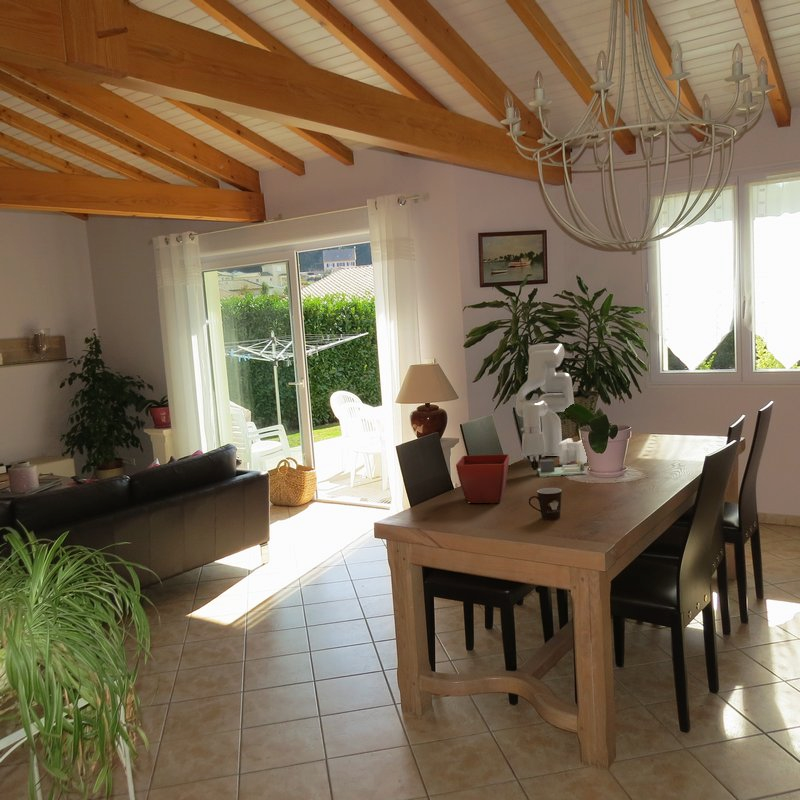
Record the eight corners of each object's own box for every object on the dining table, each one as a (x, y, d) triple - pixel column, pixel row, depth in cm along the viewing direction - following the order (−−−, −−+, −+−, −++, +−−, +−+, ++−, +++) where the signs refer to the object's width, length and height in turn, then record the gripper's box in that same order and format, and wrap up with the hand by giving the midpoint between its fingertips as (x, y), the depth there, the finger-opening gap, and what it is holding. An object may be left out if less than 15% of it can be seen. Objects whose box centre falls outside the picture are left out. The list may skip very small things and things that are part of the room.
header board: (538, 470, 357) (537, 460, 357) (581, 468, 355) (581, 457, 354) (539, 477, 344) (539, 466, 343) (585, 474, 341) (584, 463, 341)
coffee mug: (563, 514, 279) (561, 487, 277) (563, 521, 270) (561, 493, 269) (531, 515, 281) (529, 488, 280) (529, 521, 273) (527, 494, 272)
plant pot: (507, 506, 297) (504, 463, 296) (458, 506, 302) (455, 464, 300) (511, 494, 316) (509, 453, 314) (466, 495, 321) (463, 455, 319)
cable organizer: (580, 467, 357) (578, 443, 356) (558, 466, 363) (557, 442, 361) (590, 461, 369) (589, 437, 368) (569, 460, 375) (568, 437, 374)
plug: (540, 470, 352) (539, 459, 352) (553, 469, 351) (553, 459, 351) (541, 472, 348) (540, 461, 348) (554, 471, 347) (553, 460, 347)
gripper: (516, 432, 346) (518, 472, 348) (549, 430, 344) (552, 470, 346) (515, 429, 353) (518, 468, 355) (548, 427, 351) (550, 467, 353)
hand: (534, 469), depth 350 cm, fingers closed
